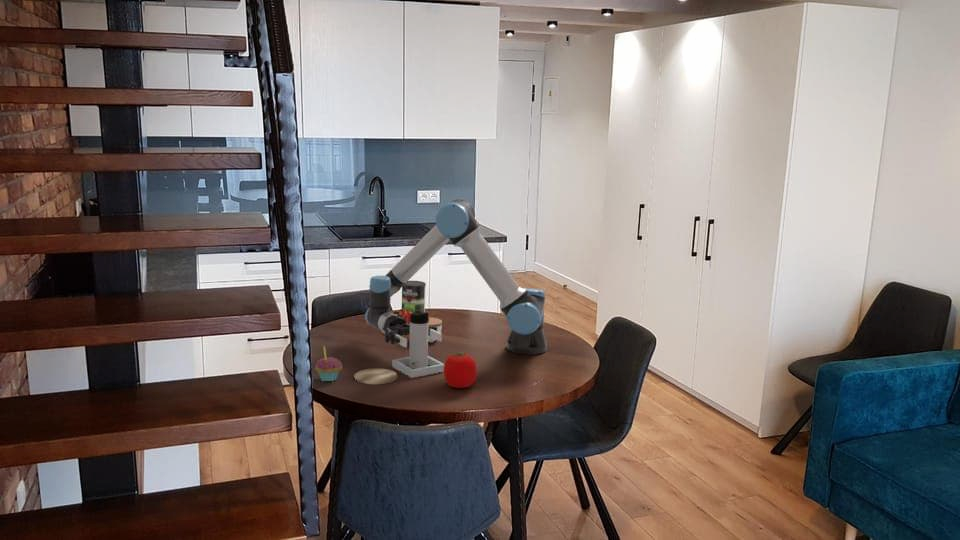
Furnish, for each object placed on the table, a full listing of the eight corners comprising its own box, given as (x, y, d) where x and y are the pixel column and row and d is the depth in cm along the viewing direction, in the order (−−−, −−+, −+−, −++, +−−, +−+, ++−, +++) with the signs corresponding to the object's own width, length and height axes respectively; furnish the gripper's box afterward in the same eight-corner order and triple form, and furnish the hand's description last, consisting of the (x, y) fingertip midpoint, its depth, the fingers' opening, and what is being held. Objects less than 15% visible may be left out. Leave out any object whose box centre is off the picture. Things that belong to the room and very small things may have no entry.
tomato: (480, 391, 233) (481, 358, 230) (447, 393, 230) (448, 360, 227) (471, 379, 242) (472, 348, 240) (439, 381, 239) (440, 349, 237)
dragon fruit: (394, 335, 294) (406, 331, 306) (411, 324, 292) (422, 321, 303) (384, 316, 295) (396, 314, 307) (400, 306, 293) (412, 304, 305)
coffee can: (419, 318, 314) (420, 286, 311) (397, 316, 317) (398, 284, 314) (428, 313, 324) (429, 281, 321) (406, 310, 327) (407, 279, 324)
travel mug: (413, 373, 246) (414, 315, 242) (406, 367, 252) (407, 310, 248) (430, 371, 249) (432, 313, 245) (423, 365, 255) (424, 309, 251)
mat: (405, 375, 244) (405, 373, 244) (380, 387, 232) (380, 385, 232) (371, 367, 251) (371, 365, 251) (345, 378, 239) (345, 377, 239)
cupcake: (328, 385, 232) (328, 349, 230) (309, 380, 236) (308, 344, 234) (347, 378, 239) (347, 343, 237) (328, 373, 244) (327, 338, 241)
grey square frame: (424, 360, 260) (424, 354, 259) (444, 371, 249) (445, 364, 249) (392, 366, 252) (392, 359, 252) (411, 378, 242) (411, 370, 241)
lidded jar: (440, 345, 279) (441, 321, 277) (412, 343, 279) (412, 319, 277) (442, 336, 289) (443, 313, 287) (415, 335, 289) (415, 312, 287)
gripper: (422, 330, 271) (454, 345, 254) (361, 340, 257) (390, 356, 240) (423, 310, 269) (455, 324, 253) (361, 319, 255) (390, 334, 238)
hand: (423, 340), depth 246 cm, fingers open, 13 cm apart
